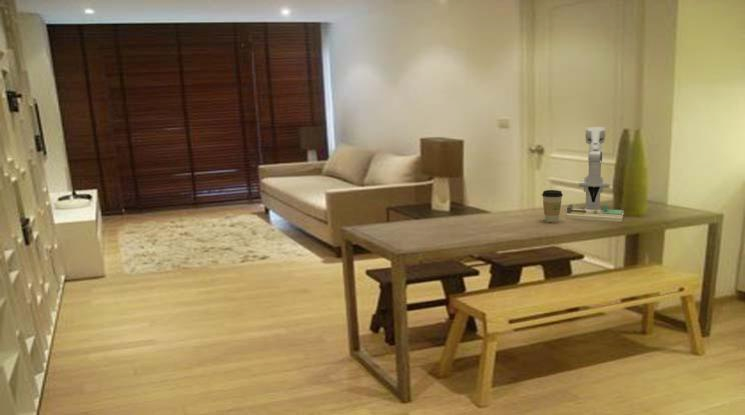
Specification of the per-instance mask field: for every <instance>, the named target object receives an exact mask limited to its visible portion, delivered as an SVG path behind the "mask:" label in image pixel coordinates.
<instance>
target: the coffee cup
mask: <svg viewBox="0 0 745 415" xmlns="http://www.w3.org/2000/svg"><path fill="white" fill-rule="evenodd" d="M541 196H542V205H543V214H544V221H546V222H545V223H549V222H556V223H559V219H560V214H561V207H562V198H563V196H564V194H563V193H562V191H561V190H557V189H551V190H550V189H548V190H543V193H542V194H541Z"/></svg>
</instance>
